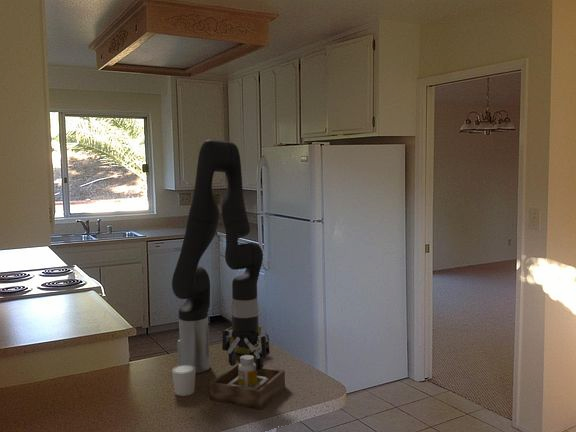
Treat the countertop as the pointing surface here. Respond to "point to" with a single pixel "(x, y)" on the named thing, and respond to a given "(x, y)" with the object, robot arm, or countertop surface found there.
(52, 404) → the countertop surface
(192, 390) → the white cup
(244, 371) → the supplement bottle
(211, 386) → the walled box
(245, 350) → the flower pot
